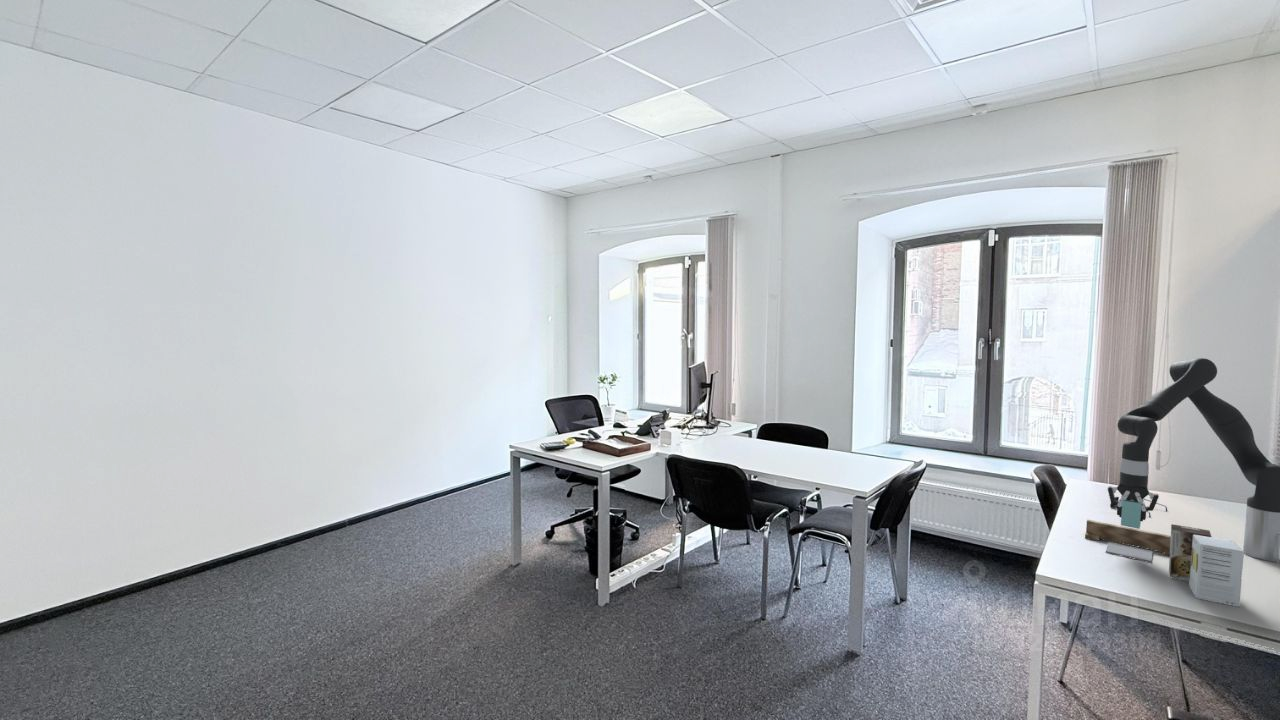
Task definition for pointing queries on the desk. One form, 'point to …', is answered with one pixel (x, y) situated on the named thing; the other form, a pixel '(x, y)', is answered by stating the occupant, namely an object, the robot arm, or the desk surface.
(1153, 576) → the desk surface
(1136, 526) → the teal block
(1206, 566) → the supplement box
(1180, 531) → the coffee box
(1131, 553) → the grey mat
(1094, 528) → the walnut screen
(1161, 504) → the sunglasses
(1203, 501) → the desk surface
